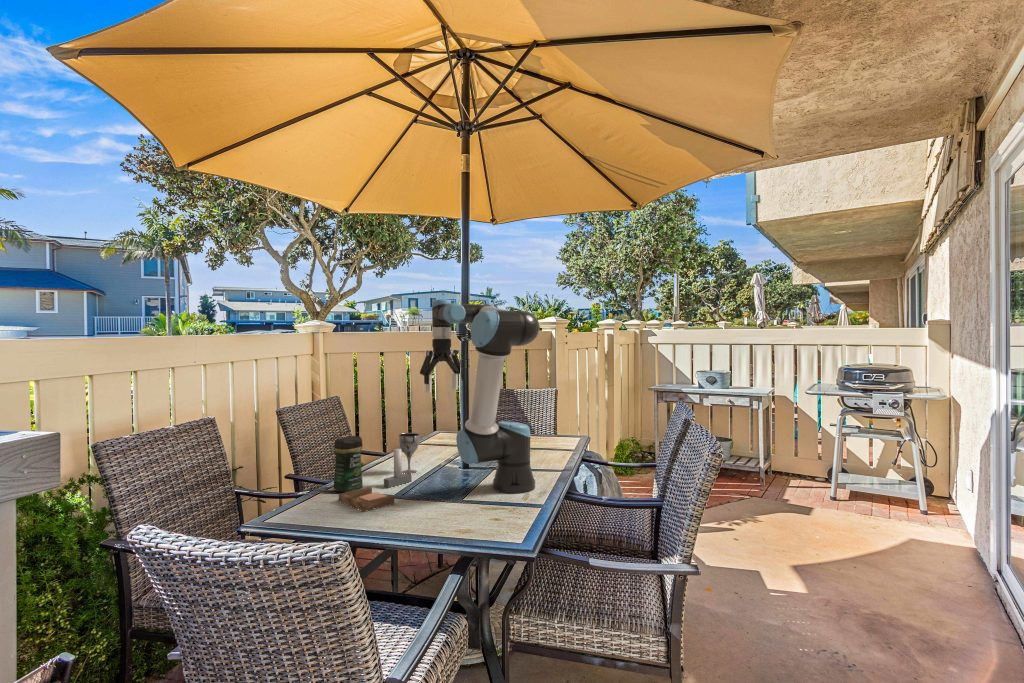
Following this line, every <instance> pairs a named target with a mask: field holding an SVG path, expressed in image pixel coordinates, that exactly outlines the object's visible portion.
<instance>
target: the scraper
mask: <svg viewBox="0 0 1024 683" xmlns="http://www.w3.org/2000/svg"><path fill="white" fill-rule="evenodd" d="M402 454H403V452H402V449H400V448H393V476H390V477H387V478H383V487H384V488H385V487H387V488H386V489H388V488H390V489H392V488H391V487H394V488H396V487H395V486H397V487H400V486H399V485H401V486H403V485H402V484H405V485H407V484H406V483H409V482H412V475H413V474H412V475H411V474H407V473H406V474H402V471H403V468H402V467H403V466H402V464H403V459H402V458H403V455H402ZM412 483H413V482H412ZM409 484H410V483H409Z"/></svg>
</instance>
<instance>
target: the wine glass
mask: <svg viewBox="0 0 1024 683" xmlns="http://www.w3.org/2000/svg"><path fill="white" fill-rule="evenodd" d="M398 445H399V449H402V454H404V455H405V456H406V458H407V469H406V470H402V473H403V474H404V473H405V474H406V473H407V474H411V473H416V472H417V471H418V470H416V469H411V460H412V456H413V455H414V453H415V452H416V451H417V450H418V447H419V445H420V433H417V432H402V433H399V434H398ZM416 474H417V473H416Z"/></svg>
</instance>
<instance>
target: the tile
mask: <svg viewBox="0 0 1024 683" xmlns="http://www.w3.org/2000/svg"><path fill="white" fill-rule="evenodd" d="M385 496H388V495H386V494H384V493H379V492H377V491H375V492H372V493H371V494H367V495H363V496H360V497H358V498H357V499H359V500H361V501H364V502H366V501H370V500H374V499H378V498H381V497H385Z"/></svg>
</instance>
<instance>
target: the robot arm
mask: <svg viewBox="0 0 1024 683" xmlns="http://www.w3.org/2000/svg"><path fill="white" fill-rule="evenodd" d="M431 304H432V305H431V306H432V307H431V311H432V313H431V315H432V316H431V318H432V320H431V323H432V324H431V325H432V326H431V327H432V328H431V329H432V332H431V333H432V345H431V346H432V348H433V349H432V350H426V351H425V353H426V354H425V357H424V361H423V363H422V366H421V368H420V371H419V375H422V376H423V377H424V378H423V379H424V380H423V383H424V385H425V393H430V394H431V393H432V375H431V373H432V372H433V371H434V369H435V367H436V366H437V364H438V363H439V362H445V363H447V365H448V366H449V368H450V370H451V371H452V372H453V373H451V386H452V387H451V390H455V391H456V390H457V391H458V390H459V384H458V383H459V381H460V380H459V378H460V374H461V373H460V364H461V362H460V359H459V356H458V351H457V349H451V348H452V339H451V338H452V324H471V325H470V326H471V327H470V341H471V343H472V345H473V346H475V348H474V349H475V351H476V353H477V354H478V361H477V366H476V374H475V381H474V388H473V395H472V397H473V398H472V404H471V412H470V418H469V419H467V420H466V421H465V423H464V428H463V429H460V430H459V431H458V432H457V434H456V447H457V448H456V449H457V452H458V455H459V458H460V459H461V460H462V462H464V463H465V464H468V465H470V464H476V465H478V464H480V463H481V464H482V463H489V462H495V461H496V462H497V467H496V470H495V474H494V477H493V480H492V488H493V490H495V491H497V492H500V493H501V492H502V493H507V494H520V493H521V494H522V493H528V492H531V491H533V490H535V489H536V479H535V478H534V475H533V471H532V468H531V429H530V426H529V425H528V424H526V423H521V422H517V421H504V420H503V421H498V422H496V419H497V413H498V406H499V399H500V393H501V388H502V387H501V386H502V380H503V374H504V366H505V361H506V360H505V359H506V358H507V357H509V356H510V355H511V352H512V347H522V346H525V345H529V344H531V343H532V342H534V341H535V339H536V338H537V337H538V335H539V332H540V322H539V320H538V318H537V316H535V315H534V314H533V313H532V312H529V311H526V310H507V309H502V308H499V307H498V308H497V307H496V306H495V305H493V304H489V303H483V304H481V303H478V304H477V303H476V304H475V303H457V302H451V300H450V299H445V298H444V299H441V298H440V299H433V301H432V302H431ZM530 490H531V491H530ZM527 491H528V492H527Z"/></svg>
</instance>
